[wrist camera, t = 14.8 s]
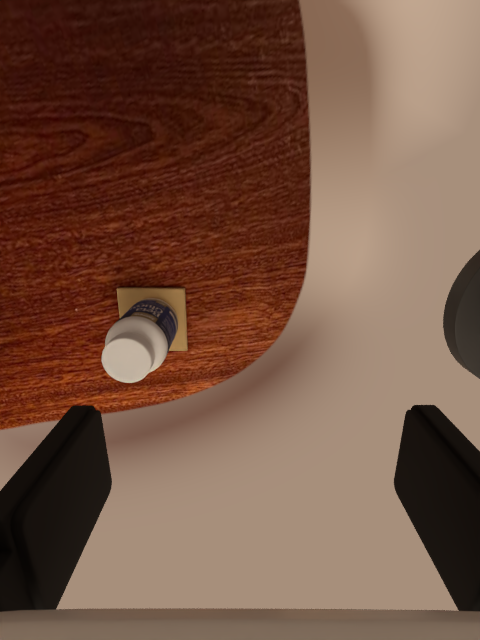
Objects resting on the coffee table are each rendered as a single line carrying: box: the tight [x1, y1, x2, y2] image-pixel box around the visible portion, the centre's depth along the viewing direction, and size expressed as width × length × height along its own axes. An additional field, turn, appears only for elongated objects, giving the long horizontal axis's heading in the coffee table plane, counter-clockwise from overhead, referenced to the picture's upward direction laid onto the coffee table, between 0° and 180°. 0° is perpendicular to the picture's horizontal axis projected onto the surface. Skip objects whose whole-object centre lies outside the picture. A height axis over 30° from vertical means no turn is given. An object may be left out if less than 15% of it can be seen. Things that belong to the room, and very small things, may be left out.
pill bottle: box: [102, 298, 178, 383], centre depth 32 cm, size 5×5×10 cm
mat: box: [117, 288, 188, 351], centre depth 37 cm, size 7×7×1 cm
